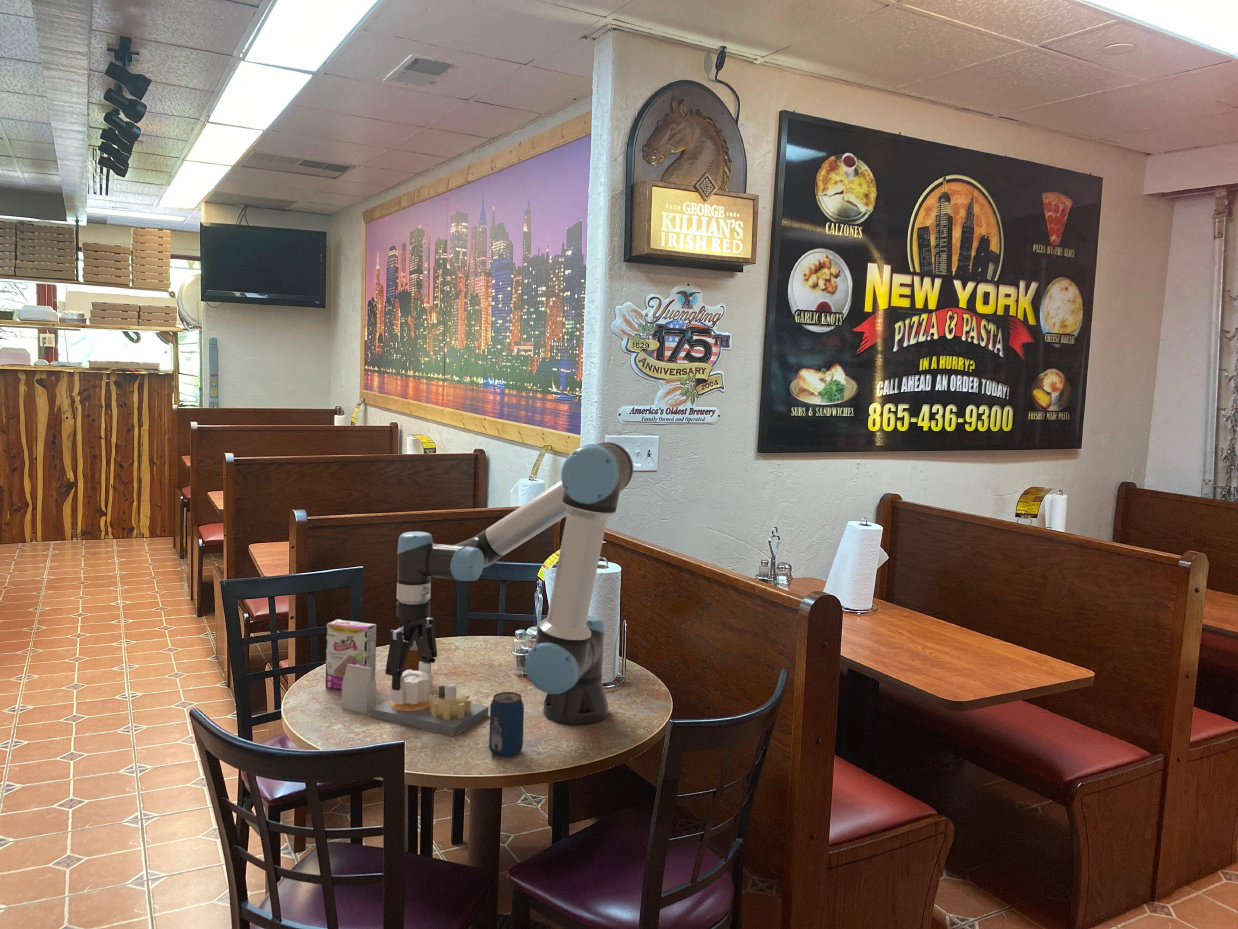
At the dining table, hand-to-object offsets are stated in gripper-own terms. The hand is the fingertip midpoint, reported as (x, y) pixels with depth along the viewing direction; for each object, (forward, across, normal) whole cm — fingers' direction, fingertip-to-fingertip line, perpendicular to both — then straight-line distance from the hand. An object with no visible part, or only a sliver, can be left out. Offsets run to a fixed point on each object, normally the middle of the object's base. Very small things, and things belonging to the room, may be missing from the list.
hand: (411, 696), depth 202 cm
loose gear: (0, 0, 0) cm, 0 cm away
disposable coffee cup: (+4, +16, +11) cm, 20 cm away
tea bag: (+4, -4, +12) cm, 13 cm away
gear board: (+4, 0, -5) cm, 7 cm away
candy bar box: (+4, +5, +22) cm, 23 cm away
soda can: (+4, -9, -30) cm, 32 cm away
